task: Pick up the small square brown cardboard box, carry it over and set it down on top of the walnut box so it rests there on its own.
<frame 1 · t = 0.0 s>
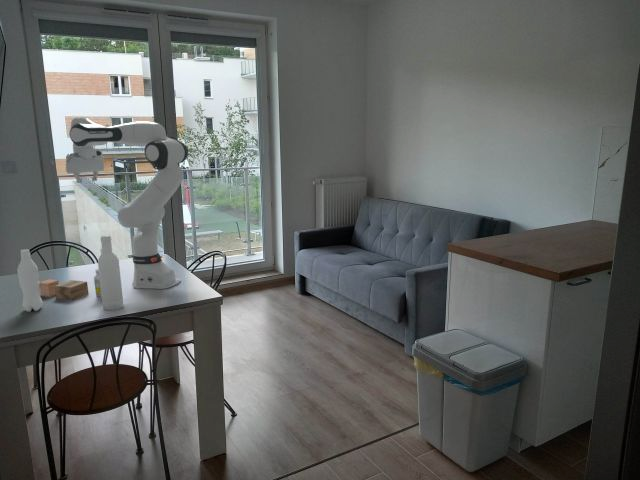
hand: (87, 181, 230), 48 cm above the table, fingers open, 8 cm apart
supplement bottle: (104, 297, 209), on the table
walnut box: (72, 296, 212), on the table
brown cardboard box: (50, 294, 215), on the table
water bottle: (33, 310, 195), on the table
bottle: (113, 307, 197), on the table
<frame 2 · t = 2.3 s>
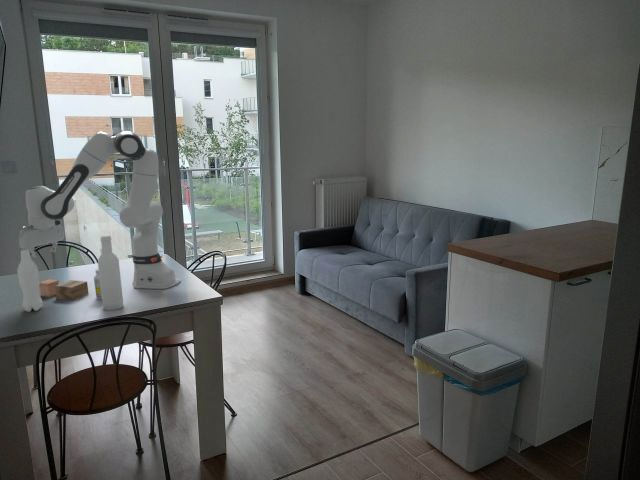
hand: (44, 254, 211), 19 cm above the table, fingers open, 8 cm apart
nothing on the table moved.
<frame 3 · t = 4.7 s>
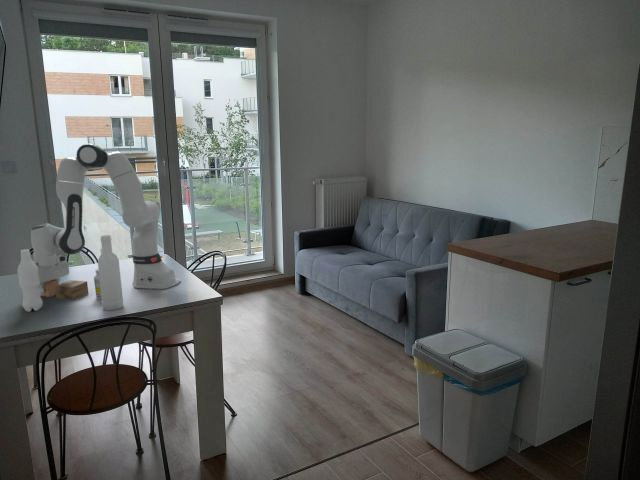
hand: (49, 290, 214), 2 cm above the table, fingers closed on brown cardboard box, 5 cm apart
brown cardboard box: (50, 294, 215), on the table, touching gripper
everything else where it was.
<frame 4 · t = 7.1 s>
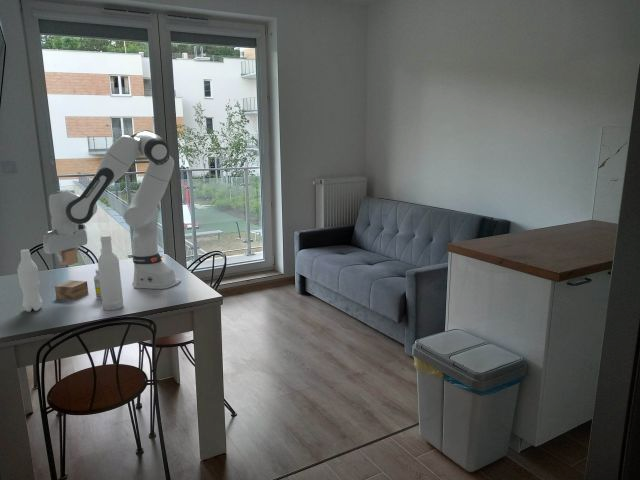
hand: (68, 259, 208), 17 cm above the table, fingers closed on brown cardboard box, 5 cm apart
brown cardboard box: (68, 263, 209), point 15 cm above the table, touching gripper
everything else where it was.
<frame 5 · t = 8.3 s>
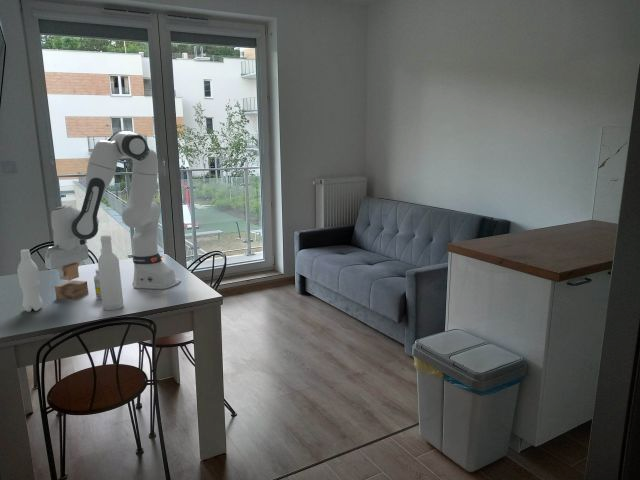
hand: (69, 274, 209), 10 cm above the table, fingers closed on brown cardboard box, 5 cm apart
brown cardboard box: (69, 278, 210), point 8 cm above the table, touching gripper
everything else where it was.
when the fingers open (9 cm above the table, at t = 9.4 s): brown cardboard box drops 1 cm, point 6 cm above the table.
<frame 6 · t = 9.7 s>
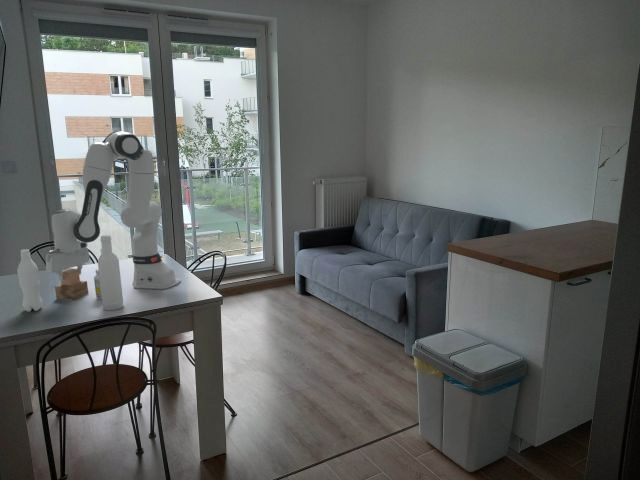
hand: (70, 277, 210), 9 cm above the table, fingers open, 8 cm apart
brown cardboard box: (70, 283, 210), point 6 cm above the table
everything else where it was.
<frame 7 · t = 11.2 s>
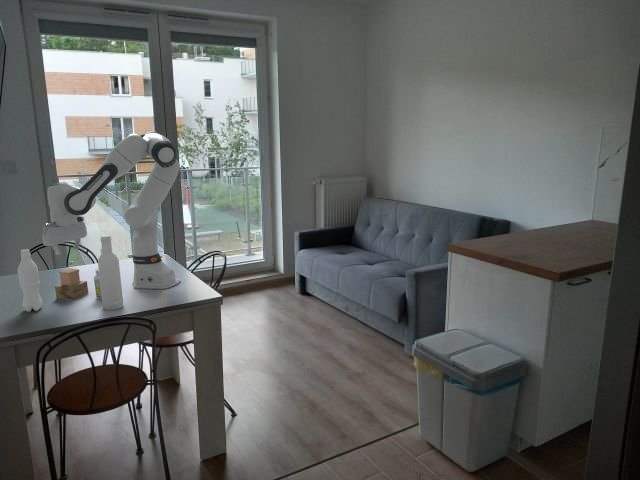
hand: (67, 251, 207), 20 cm above the table, fingers open, 8 cm apart
walnut box: (72, 296, 212), on the table, touching brown cardboard box
brown cardboard box: (70, 283, 210), point 6 cm above the table, touching walnut box
everything else where it was.
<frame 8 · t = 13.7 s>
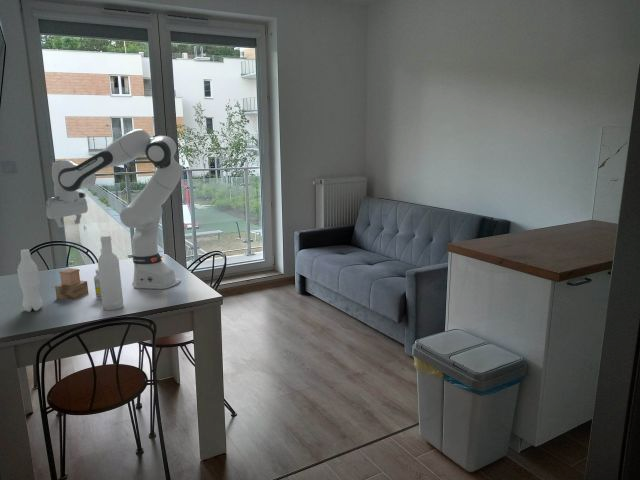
hand: (69, 225, 221), 29 cm above the table, fingers open, 8 cm apart
walnut box: (72, 296, 212), on the table
brown cardboard box: (71, 283, 210), point 6 cm above the table
everything else where it was.
at the end: brown cardboard box 0.4 cm off-centre on the walnut box, point 6.0 cm above the walnut box's base; brown cardboard box tilted 0°; the gripper is holding nothing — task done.
